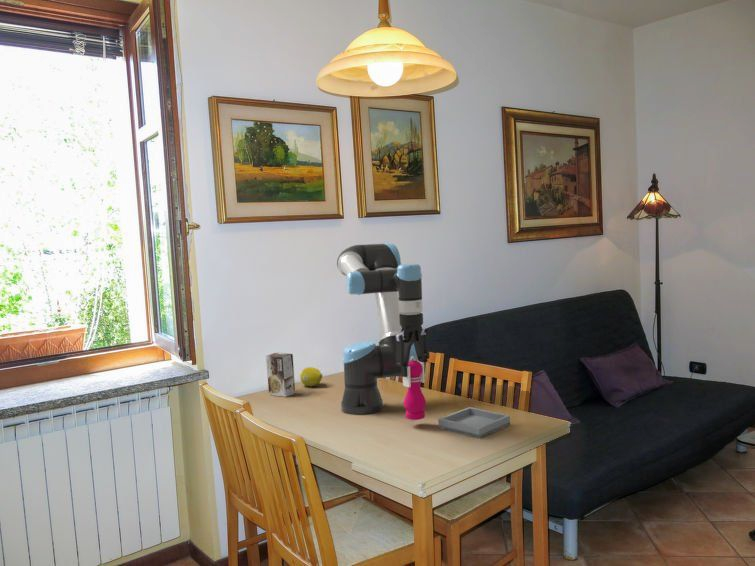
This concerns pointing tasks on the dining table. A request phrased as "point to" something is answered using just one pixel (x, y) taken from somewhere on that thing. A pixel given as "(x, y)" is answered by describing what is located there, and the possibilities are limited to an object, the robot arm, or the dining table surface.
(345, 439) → the dining table surface
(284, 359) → the coffee box
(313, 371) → the lemon
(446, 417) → the tray
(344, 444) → the dining table surface
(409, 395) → the pepper mill
